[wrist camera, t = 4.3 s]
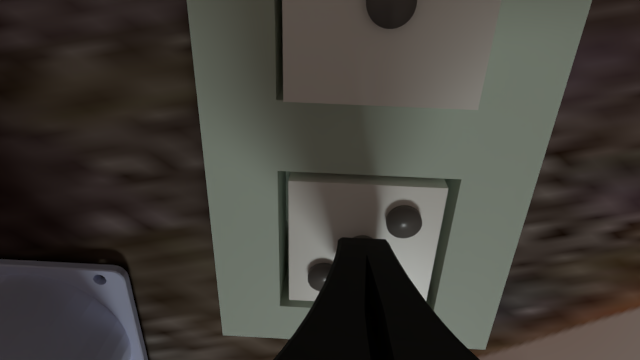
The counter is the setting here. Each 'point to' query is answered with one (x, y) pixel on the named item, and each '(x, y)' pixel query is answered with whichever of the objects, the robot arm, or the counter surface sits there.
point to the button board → (372, 157)
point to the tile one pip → (387, 51)
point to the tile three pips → (361, 223)
